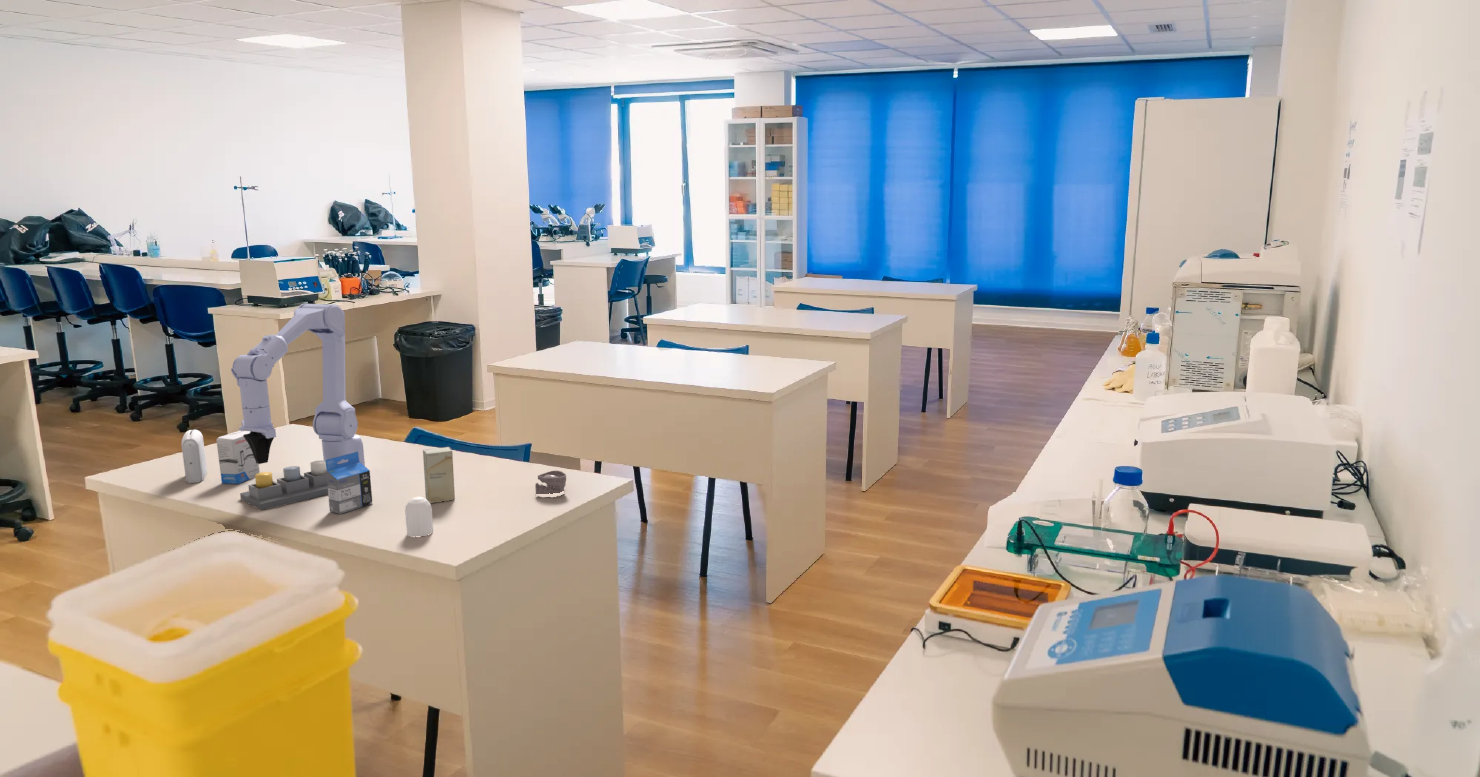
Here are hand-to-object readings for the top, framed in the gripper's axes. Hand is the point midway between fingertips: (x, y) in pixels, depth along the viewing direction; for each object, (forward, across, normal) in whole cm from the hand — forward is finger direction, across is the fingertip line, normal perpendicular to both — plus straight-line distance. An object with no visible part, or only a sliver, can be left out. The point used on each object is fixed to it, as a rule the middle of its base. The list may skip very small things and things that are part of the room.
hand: (262, 462), depth 223 cm
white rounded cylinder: (+10, +47, +13) cm, 50 cm away
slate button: (+6, 0, +6) cm, 9 cm away
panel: (+9, 0, +6) cm, 11 cm away
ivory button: (+6, 0, +13) cm, 14 cm away
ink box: (+10, -23, +3) cm, 25 cm away
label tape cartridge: (+10, +20, +11) cm, 25 cm away
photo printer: (+10, -33, -4) cm, 35 cm away
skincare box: (+10, +30, +28) cm, 42 cm away
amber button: (+6, 0, 0) cm, 6 cm away
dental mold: (+10, +47, +48) cm, 68 cm away
